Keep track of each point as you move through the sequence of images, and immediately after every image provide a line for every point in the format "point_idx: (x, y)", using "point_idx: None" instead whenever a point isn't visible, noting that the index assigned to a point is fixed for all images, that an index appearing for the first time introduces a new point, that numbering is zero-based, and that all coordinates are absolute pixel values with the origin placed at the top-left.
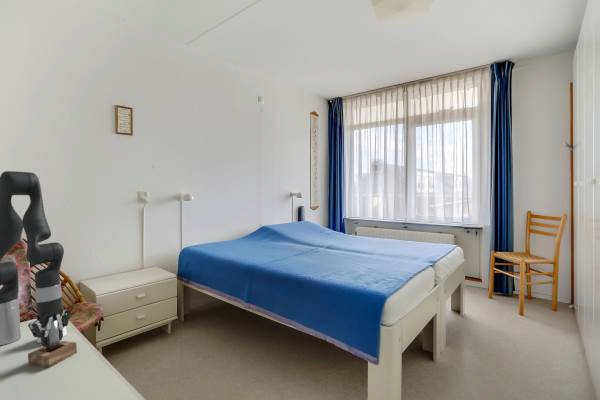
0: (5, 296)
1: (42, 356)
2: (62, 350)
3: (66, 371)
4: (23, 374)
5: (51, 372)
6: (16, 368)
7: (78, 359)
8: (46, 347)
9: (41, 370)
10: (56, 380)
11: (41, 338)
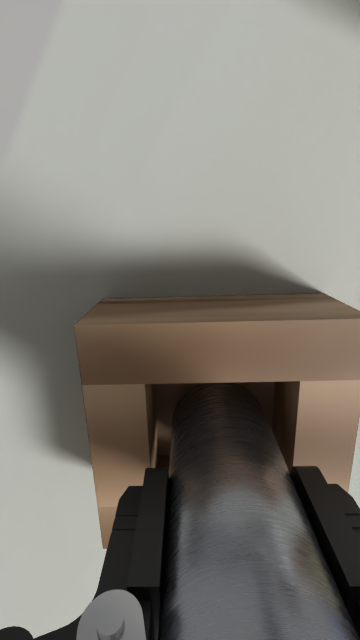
0: None
1: (96, 489)
2: None
3: None
4: (18, 396)
5: (92, 529)
6: (41, 258)
7: None
8: (169, 464)
9: (86, 458)
10: (54, 607)
11: (98, 594)
